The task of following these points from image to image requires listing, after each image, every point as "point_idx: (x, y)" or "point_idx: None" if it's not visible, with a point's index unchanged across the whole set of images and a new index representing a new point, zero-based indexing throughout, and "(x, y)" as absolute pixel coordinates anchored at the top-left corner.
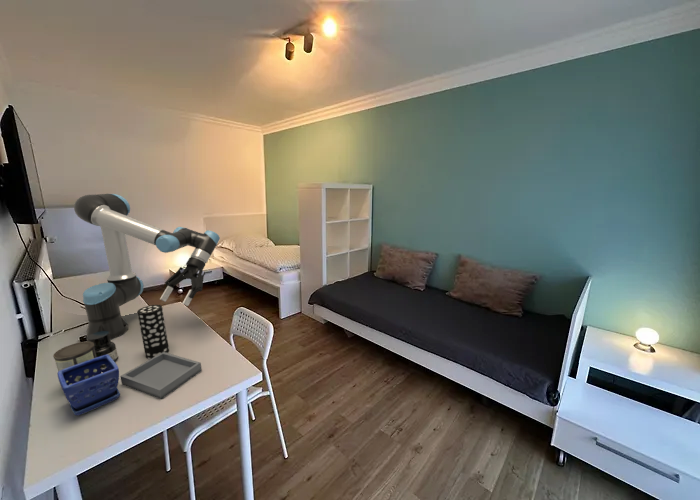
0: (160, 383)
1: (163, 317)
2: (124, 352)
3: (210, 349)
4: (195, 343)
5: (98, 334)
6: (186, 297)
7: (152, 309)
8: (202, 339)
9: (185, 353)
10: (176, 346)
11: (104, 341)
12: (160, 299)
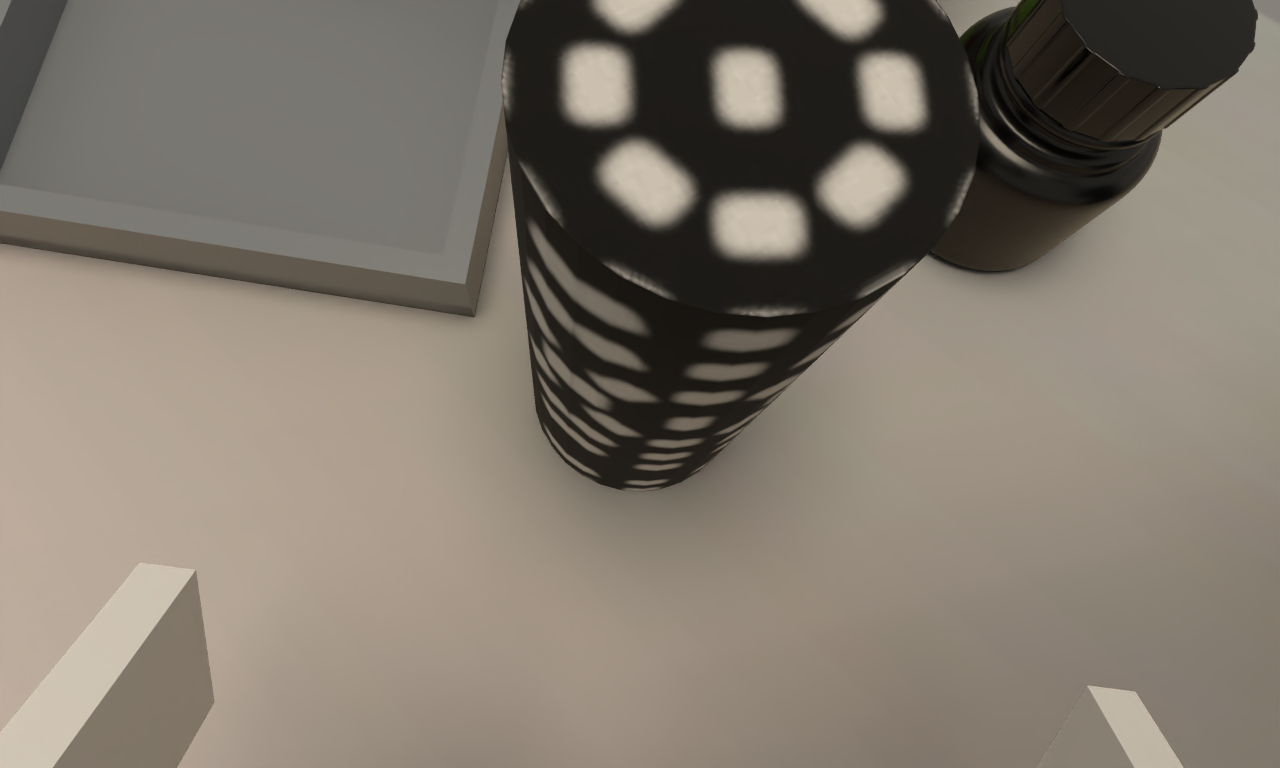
0: (203, 7)
1: (546, 305)
2: (966, 338)
3: (94, 582)
4: (369, 654)
5: (1171, 9)
6: (18, 746)
7: (669, 82)
8: (343, 763)
9: (341, 449)
10: (548, 544)
11: (1019, 21)
12: (1118, 708)
